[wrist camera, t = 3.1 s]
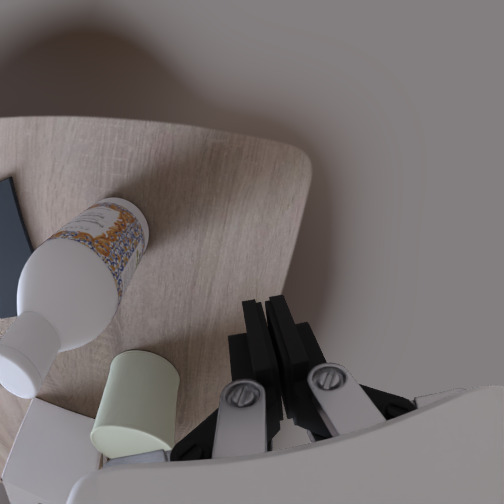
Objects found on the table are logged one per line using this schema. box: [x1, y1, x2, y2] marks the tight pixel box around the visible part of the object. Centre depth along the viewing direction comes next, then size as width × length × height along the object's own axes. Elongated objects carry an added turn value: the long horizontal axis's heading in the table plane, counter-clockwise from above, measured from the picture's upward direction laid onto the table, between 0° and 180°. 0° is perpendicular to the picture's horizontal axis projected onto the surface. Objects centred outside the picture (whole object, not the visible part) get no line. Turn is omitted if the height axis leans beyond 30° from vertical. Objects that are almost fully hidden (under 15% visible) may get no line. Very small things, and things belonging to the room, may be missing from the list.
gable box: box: [1, 397, 107, 504], centre depth 28 cm, size 22×13×28 cm, turn 161°
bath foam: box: [0, 198, 149, 398], centre depth 19 cm, size 7×7×20 cm
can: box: [90, 350, 180, 459], centre depth 30 cm, size 9×9×12 cm
